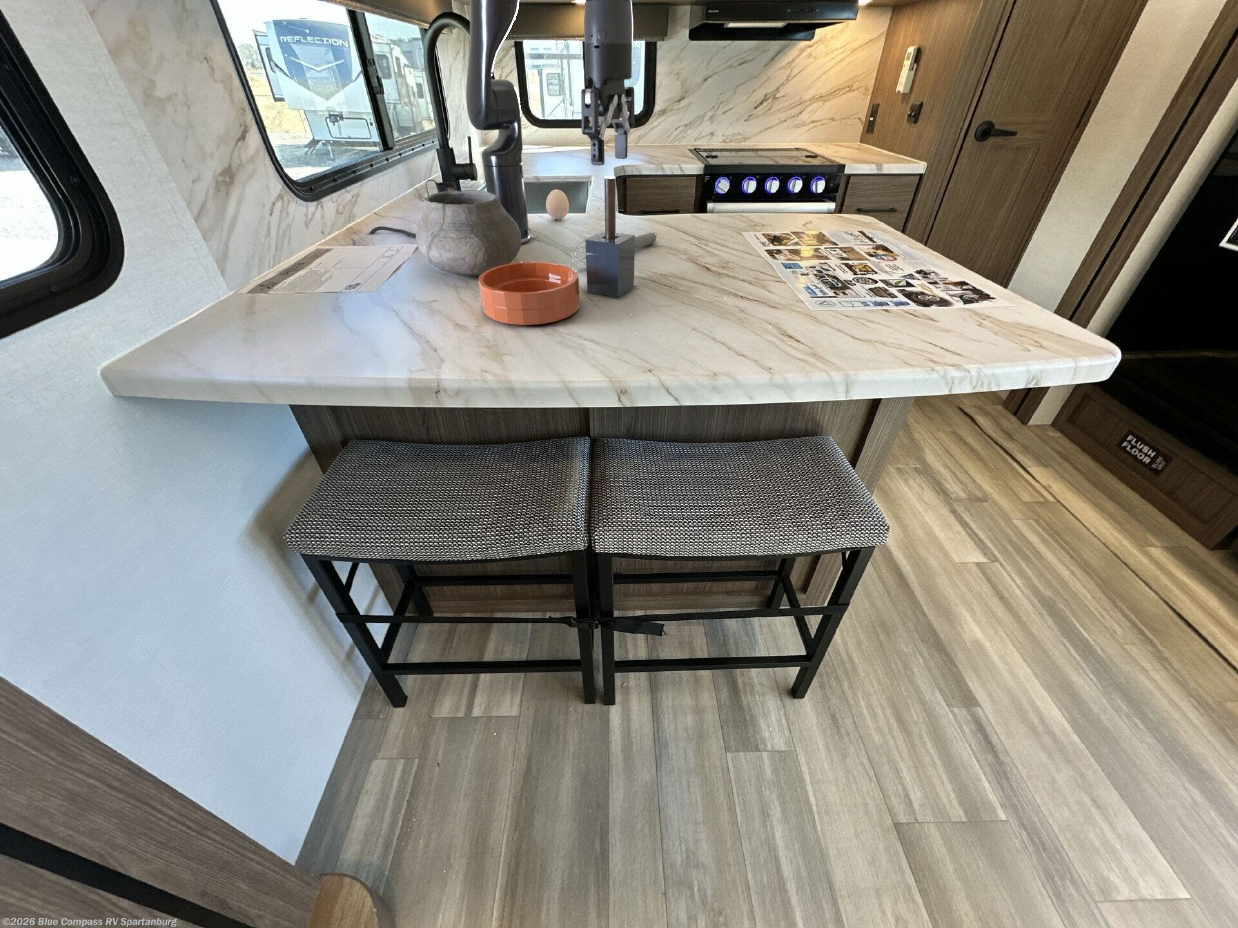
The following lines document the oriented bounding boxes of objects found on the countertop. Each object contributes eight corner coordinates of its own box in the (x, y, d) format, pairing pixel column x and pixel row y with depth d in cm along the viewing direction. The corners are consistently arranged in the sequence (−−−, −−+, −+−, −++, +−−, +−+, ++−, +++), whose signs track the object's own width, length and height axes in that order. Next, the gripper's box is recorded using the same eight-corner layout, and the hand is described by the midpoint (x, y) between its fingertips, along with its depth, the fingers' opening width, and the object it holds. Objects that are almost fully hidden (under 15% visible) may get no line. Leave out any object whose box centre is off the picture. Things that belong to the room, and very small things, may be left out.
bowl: (463, 316, 91) (457, 283, 87) (522, 287, 103) (518, 256, 100) (544, 335, 85) (541, 300, 81) (596, 301, 97) (595, 270, 93)
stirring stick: (604, 290, 102) (602, 178, 89) (608, 287, 103) (607, 176, 91) (612, 292, 101) (612, 179, 89) (617, 289, 102) (617, 177, 90)
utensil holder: (587, 292, 101) (585, 239, 95) (604, 281, 106) (603, 231, 100) (618, 298, 98) (618, 244, 92) (633, 287, 103) (635, 235, 97)
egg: (574, 219, 149) (572, 189, 144) (558, 223, 145) (556, 192, 140) (558, 216, 152) (556, 186, 147) (542, 220, 148) (539, 189, 143)
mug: (464, 225, 143) (456, 177, 136) (464, 230, 139) (455, 181, 132) (435, 226, 142) (425, 178, 134) (434, 231, 138) (424, 182, 130)
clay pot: (537, 260, 117) (530, 188, 108) (502, 291, 101) (491, 209, 92) (451, 254, 121) (437, 184, 112) (404, 283, 105) (383, 204, 95)
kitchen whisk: (666, 243, 129) (668, 216, 125) (588, 280, 107) (587, 249, 103) (646, 239, 132) (647, 213, 128) (565, 275, 110) (563, 244, 106)
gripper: (609, 43, 85) (610, 155, 95) (563, 40, 75) (570, 166, 85) (649, 42, 82) (646, 158, 92) (607, 39, 72) (609, 169, 82)
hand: (609, 161), depth 88 cm, fingers open, 8 cm apart
